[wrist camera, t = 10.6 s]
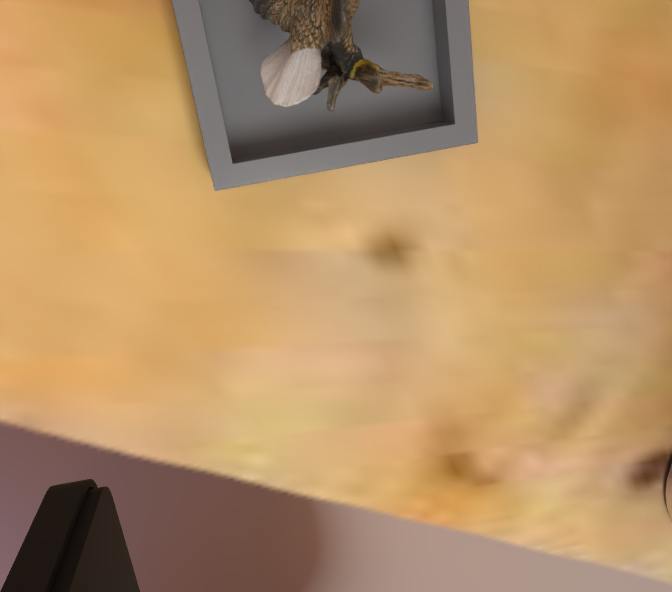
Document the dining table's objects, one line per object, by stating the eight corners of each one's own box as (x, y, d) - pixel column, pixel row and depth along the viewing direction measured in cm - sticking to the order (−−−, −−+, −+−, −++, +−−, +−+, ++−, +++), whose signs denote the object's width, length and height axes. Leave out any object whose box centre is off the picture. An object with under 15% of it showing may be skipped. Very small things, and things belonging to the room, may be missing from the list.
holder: (435, -182, 26) (454, -204, 24) (460, 136, 31) (477, 142, 29) (143, -144, 25) (135, -163, 23) (215, 181, 30) (214, 190, 28)
